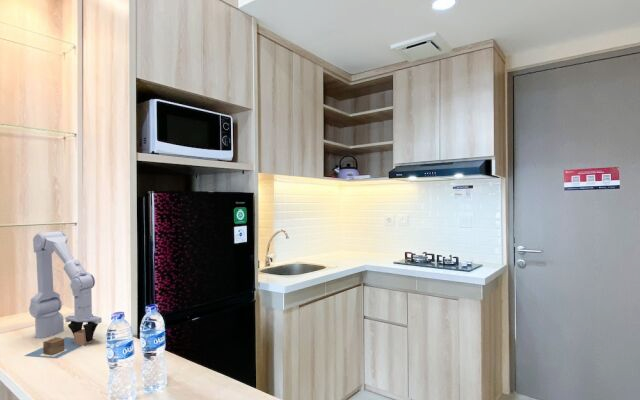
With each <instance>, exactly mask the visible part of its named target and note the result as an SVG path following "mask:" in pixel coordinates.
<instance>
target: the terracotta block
mask: <svg viewBox="0 0 640 400" xmlns="http://www.w3.org/2000/svg"><path fill="white" fill-rule="evenodd" d="M73 338H74V345H83V346H86V345H88V344H90V343H92V342H94V341H93V339H94V337H93V338H92V340H91V341H89V342H87V341H86V333H85V329H84V328H82V330H80V331H77V332H75V333H74V335H73Z"/></svg>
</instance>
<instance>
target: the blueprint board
mask: <svg viewBox="0 0 640 400" xmlns="http://www.w3.org/2000/svg"><path fill="white" fill-rule="evenodd" d="M63 338H64V351H62V352H60V353H57V354H55V355H53V356H52V355H46V354H43V347H40V348H38V349H36V350H33V351H31V352H30V353H27V354H25V355H24V357H33V358H34V357H35V358H46V359H47V358H48V359H60V358H62V357H63V356H65V355H68V354H69V353H71V352H73V351H75V350H77V349H79V348H82V347H84V345H74V337H63ZM95 340H96V338H93V341H92V342H94V341H95Z"/></svg>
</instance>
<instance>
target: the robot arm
mask: <svg viewBox="0 0 640 400" xmlns="http://www.w3.org/2000/svg"><path fill="white" fill-rule="evenodd" d="M32 242H33V243H32V245H33V253H35V257H36V274H37V275H36V277H37V293H36V294H35V295H34V296H32V297H31V298H30V305H29V308H28V311H29V314H30V316H31V317H32V318H35V319H34V320H35V324H34V325H35V326H34V327H35V338H36V339H46V338H51V337H53V336H56V335H58V334H60V333H62V332H64V331H65V329H64V327H65V326H64V325H65V324H64V319H65V323H68V324H67V327H68V329H70V331H71V333H72V334H73V335H72V336H74V333H75V332H77V331H80V330H82V329H85V333H86V341H87V342H89V341H91V340H92V338H93V339H94V334H95V331H96V328H97V327H98V326H99V324H101V323H102V317H101V316H96V315H94V313H92V312H93V302H92V300H93V299H92V289H93V288H94V286H95V284H96V280H95V276H94V275H93V274H91V273H90V272H89V271H86V270H85V268H84V266H83V265H82V263H81V262H80V261H79V260H77V259H75V258H74V256H73V254H72V252H71V250H70V248H69V245H68V237H67V234H66V233H65V232H64V231H63V230H58V231H57V230H56V231H48V232H46V231H45V232H38V233H36V234H35V235H34V236H33V238H32ZM54 252H55V253H56V255H57V256H58V258H59V259H60V260H61V262H62V263H63V264H64V266H63V270H64V272H65V273H66V276H68V278H69V280H70V284H69V285H70V289H71V291H72V292H71V293H72V296H73V299H74V301H73V302H74V304H73V305H74V315H68V316H65V318H64V315H63V314H62V313H61V312H60V311H61V310H62V307H63V304H62V303H63V302H62V299H61V296H60V294H59V293H58V292H56V291H54V278H53V277H54V275H53V274H54V273H53V272H54V271H53V255H52V254H54ZM84 323H86V324H84Z"/></svg>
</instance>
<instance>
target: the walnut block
mask: <svg viewBox="0 0 640 400" xmlns="http://www.w3.org/2000/svg"><path fill="white" fill-rule="evenodd" d="M64 338H65V337H56V336H55V337H53V338H49V339H47V340H44V341H43V342H42V344H43V345H42V348H43V354H46V355H52V356H53V355H55V354H57V353H60V352H62V351H64Z"/></svg>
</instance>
